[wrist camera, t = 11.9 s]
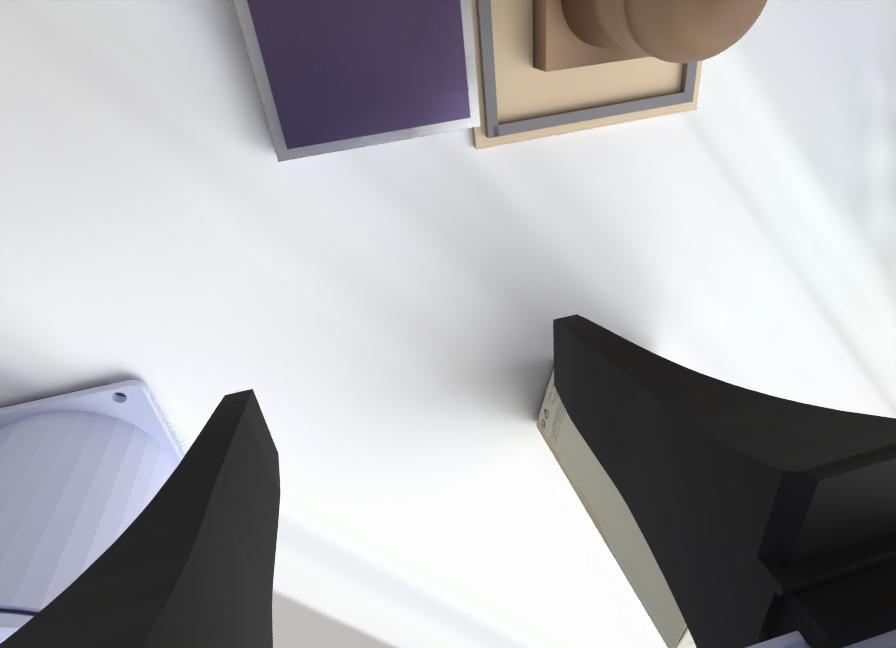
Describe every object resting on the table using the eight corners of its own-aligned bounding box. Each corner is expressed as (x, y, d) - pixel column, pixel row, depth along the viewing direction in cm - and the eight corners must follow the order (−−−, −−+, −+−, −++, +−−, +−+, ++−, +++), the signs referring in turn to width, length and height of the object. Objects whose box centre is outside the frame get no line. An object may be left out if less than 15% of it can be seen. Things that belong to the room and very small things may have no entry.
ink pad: (279, 154, 19) (278, 163, 18) (209, -98, 15) (202, -105, 14) (472, 120, 20) (482, 127, 19) (451, -125, 16) (462, -134, 15)
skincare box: (532, 424, 29) (660, 660, 19) (555, 354, 27) (712, 576, 16) (636, 422, 30) (804, 636, 20) (664, 355, 28) (868, 557, 18)
